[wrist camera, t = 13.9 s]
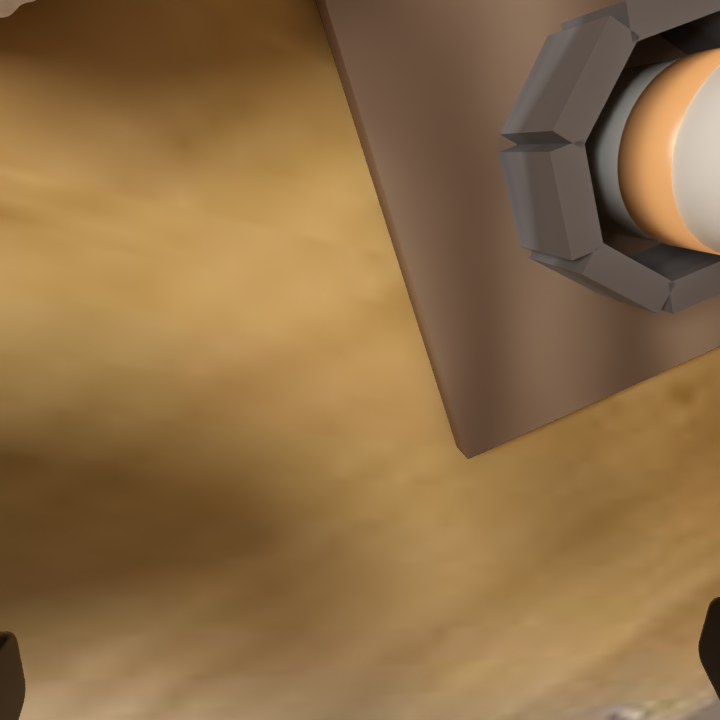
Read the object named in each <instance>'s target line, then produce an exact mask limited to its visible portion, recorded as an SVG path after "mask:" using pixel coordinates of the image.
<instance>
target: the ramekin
mask: <svg viewBox="0 0 720 720" xmlns="http://www.w3.org/2000/svg"><path fill="white" fill-rule="evenodd" d="M34 1H36V0H0V18H3V17H7V16H10V15H11V14H13V13H14V12H15V11H16V9H17V8H18V7H19V6H20V5H22V4H24V3H29V2H34Z"/></svg>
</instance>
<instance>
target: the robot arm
mask: <svg viewBox="0 0 720 720" xmlns="http://www.w3.org/2000/svg"><path fill="white" fill-rule="evenodd" d="M699 656H700V660H701V662H702V665H703V667H704V669H705V671H706V673H707V675H708V677H709V679H710V681H711V683H712V685H713V687H714V689H715V692H716V694H717V696H718V698H719V700H720V597H717V598H714V599H713V600H712V602H711V603H710V605H709V607H708V611H707V615H706V618H705V622H704V625H703V629H702V633H701V636H700V640H699ZM24 698H25V679H24V673H23V668H22V663H21V658H20V652H19V647H18V642H17V639H16V637H15V635H14V634H13V633H11V632H7V631H6V632H0V720H19V717H20V713H21V710H22V707H23V703H24Z"/></svg>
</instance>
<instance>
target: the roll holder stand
mask: <svg viewBox="0 0 720 720" xmlns="http://www.w3.org/2000/svg"><path fill="white" fill-rule="evenodd" d="M315 1H316V4H317V7H318V10H319V13H320V16H321V20H322V23H323V26H324V29H325V32H326V35H327V39H328V42H329V45H330V48H331V51H332V54H333V57H334V61H335V64H336V67H337V70H338V73H339V76H340V79H341V83H342V86H343V89H344V92H345V95H346V98H347V102H348V105H349V108H350V111H351V114H352V117H353V120H354V124H355V127H356V130H357V133H358V136H359V139H360V143H361V146H362V149H363V152H364V155H365V158H366V161H367V165H368V168H369V171H370V174H371V177H372V180H373V184H374V187H375V190H376V193H377V196H378V199H379V202H380V206H381V209H382V212H383V215H384V218H385V221H386V224H387V228H388V231H389V234H390V237H391V240H392V243H393V247H394V250H395V253H396V256H397V259H398V262H399V265H400V269H401V272H402V275H403V278H404V281H405V284H406V288H407V291H408V294H409V297H410V300H411V303H412V306H413V310H414V313H415V316H416V319H417V322H418V325H419V329H420V332H421V335H422V338H423V341H424V344H425V347H426V351H427V354H428V357H429V360H430V363H431V366H432V370H433V373H434V376H435V379H436V382H437V385H438V388H439V392H440V395H441V398H442V401H443V404H444V407H445V410H446V414H447V417H448V420H449V423H450V426H451V429H452V433H453V436H454V439H455V442H456V445H457V447H458V449H459V450H460V451H461V452H462V453H463V454H464V455H465V456H466V457H467V458H468V459H470V458H472V457H474V456H476V455H479V454H481V453H483V452H485V451H487V450H490V449H492V448H494V447H496V446H499V445H501V444H503V443H505V442H508V441H510V440H512V439H514V438H516V437H519V436H521V435H523V434H525V433H528V432H530V431H532V430H534V429H537V428H539V427H541V426H543V425H545V424H548V423H550V422H552V421H554V420H557V419H559V418H561V417H563V416H566V415H568V414H570V413H572V412H574V411H577V410H579V409H581V408H583V407H586V406H588V405H590V404H592V403H595V402H597V401H599V400H601V399H603V398H606V397H608V396H610V395H612V394H615V393H617V392H619V391H621V390H624V389H626V388H628V387H630V386H632V385H635V384H637V383H639V382H641V381H644V380H646V379H648V378H650V377H653V376H655V375H657V374H659V373H661V372H664V371H666V370H668V369H670V368H673V367H675V366H677V365H679V364H682V363H684V362H686V361H688V360H690V359H693V358H695V357H697V356H699V355H702V354H704V353H706V352H708V351H711V350H713V349H715V348H717V347H719V346H720V255H717V254H712V253H707V252H702V251H696V250H691V249H686V248H681V247H676V246H670V245H667V244H663V243H660V242H658V241H654V240H648V239H643V238H638V237H632V236H627V235H622V234H616V233H611V232H606V231H602V230H601V229H600V224H599V219H598V213H597V208H596V203H595V197H594V192H593V187H592V181H591V176H590V171H589V165H588V160H587V155H586V149H585V142H586V140H587V138H588V136H589V134H590V132H591V130H592V128H593V126H594V125H595V123H596V121H597V119H598V117H599V115H600V113H601V111H602V109H603V107H604V105H605V103H606V101H607V99H608V97H609V95H610V93H611V91H612V89H613V87H614V85H615V84H616V82H617V80H618V78H619V76H620V74H621V72H622V70H623V69H625V68H629V67H635V66H640V65H645V64H650V63H655V62H660V61H666V60H671V59H676V58H681V57H685V56H687V55H690V54H694V53H697V52H701V51H706V50H711V49H716V48H720V0H315Z"/></svg>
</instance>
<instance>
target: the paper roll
mask: <svg viewBox="0 0 720 720" xmlns="http://www.w3.org/2000/svg"><path fill="white" fill-rule="evenodd" d="M585 149H586V155H587V160H588V165H589V171H590V176H591V181H592V187H593V192H594V197H595V203H596V208H597V213H598V219H599V224H600V229H601V230H602V231H606V232H611V233H616V234H622V235H627V236H632V237H638V238H643V239H648V240H654V241H658V242H660V243H663V244H667V245H670V246H676V247H681V248H686V249H691V250H696V251H702V252H707V253H712V254H717V255H720V48H716V49H711V50H706V51H701V52H697V53H694V54H690V55H687V56H685V57H681V58H676V59H671V60H666V61H660V62H655V63H650V64H645V65H640V66H635V67H629V68H625V69H623V70H622V72H621V74H620V76H619V78H618V80H617V82H616V84H615V85H614V87H613V89H612V91H611V93H610V95H609V97H608V99H607V101H606V103H605V105H604V107H603V109H602V111H601V113H600V115H599V117H598V119H597V121H596V123H595V125H594V126H593V128H592V130H591V132H590V134H589V136H588V138H587V140H586V142H585Z"/></svg>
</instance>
